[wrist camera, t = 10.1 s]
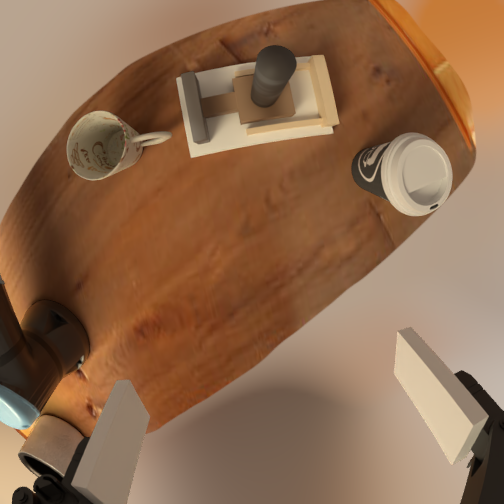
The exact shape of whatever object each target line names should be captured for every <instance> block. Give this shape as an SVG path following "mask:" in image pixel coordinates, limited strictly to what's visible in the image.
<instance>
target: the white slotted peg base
mask: <svg viewBox="0 0 504 504" xmlns="http://www.w3.org/2000/svg"><path fill="white" fill-rule="evenodd" d="M295 58H296V61H297V67H296V70H295V72H294V73H293V75H292V76H291V78H290V80H289V84H290V88H291V93H292V98H293V102H294V107H295V112H296V114H294V115H293V116H292V117H287V118H280V119H273V120H266V121H260V122H254V123H249V124H243V125H241V124H240V119H239V114H238V112H236V113H231V114H226V115H221V116H216V117H211V118H207V119H206V122H207V127H208V132H209V137H210V142H208V143H204V144H197V143H195V142H193V138H192V132H191V127H190V122H189V117H188V111H187V106H186V101H185V95H184V90H183V84H182V78H181V77H178V78H176V81H177V86H178V92H179V98H180V103H181V109H182V114H183V120H184V125H185V130H186V135H187V140H188V145H189V150H190V155H191V158H194V157H198V156H202V155H207V154H211V153H216V152H221V151H226V150H231V149H236V148H241V147H246V146H252V145H257V144H263V143H269V142H275V141H281V140H288V139H295V138H302V137H309V136H317V135H326V134H332V133H333V128H332V126H335V125H337V124H339V119H338V114H337V109H336V104H335V100H334V95H333V91H332V86H331V82H330V78H329V74H328V70H327V66H326V62H325V58H324V55H312V56H308V57H295ZM255 66H256V62H251V63H245V64H239V65H233V66H227V67H222V68H217V69H212V70H207V71H203V72H198V73H195V75H196V77H197V79H198V81H199V85H200V91H201V96H202V98H206V97H210V96H215V95H220V94H225V93H230V92H234V89H233V84H232V78H238V77H244V76H250V75H254V71H255Z"/></svg>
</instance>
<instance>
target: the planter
mask: <svg viewBox="0 0 504 504" xmlns="http://www.w3.org/2000/svg"><path fill="white" fill-rule="evenodd" d="M83 438H84V437H83V436H82V435H81V433H80V432H79V431H77V430H76V429H75V428H74V427H73V426H71V425H70V424H69V423H67V422H65V421H63V420H62V419H59V418H57V417H54V416H49V415H43V416H41V417H40V418H39V419H38V420H37V422H36V423H35V425H34V427H33V429H32V430H31V432H30V434H29V436H28V437H27V439H26V441H25V443H24V445H23V446H22V448H21V450H20V452H19V454H18V456H19V458H20V460H21V462H22V463H23V464H24V465H25V466H26V467H27V468H28V469H29V470H30V471H31V472H32V473H33V474H35V475H36V476H38V477H40V476H41V475H45V474H50V475H52V476H54V477H55V478H56V479H57V480H58V481H59V482H62V480H63V478H64V475H65V473H66V471H67V468H68V466H69V464H70V461H72V457H73V454H75V453H74V452H75V450H76V448H77V445H78V444H79V443H80V442H81V440H82V439H83Z"/></svg>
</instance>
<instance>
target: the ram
mask: <svg viewBox="0 0 504 504" xmlns="http://www.w3.org/2000/svg"><path fill="white" fill-rule="evenodd" d="M296 67H297V61H296V58H295V56H294V54H293V53H292V52H291V51H290V50H288V49H287V48H285V47H282V46H277V45H273V46H268V47H266V48H264V49H263V50H261V51H260V53H259V54H258V56H257V60H256V66H255V71H254V75H250V76H244V77H238V78H232V84H233V89H234V92H230V93H225V94H220V95H215V96H210V97H206V98H202V96H201V91H200V85H199V81H198V79H197V77H196V75H195V73H194V71H191V72H187V73H183V74H181V78H182V84H183V90H184V95H185V101H186V106H187V111H188V117H189V122H190V127H191V132H192V138H193V142H195V143H197V144H204V143H208V142H210V137H209V132H208V127H207V122H206V119H207V118H211V117H216V116H221V115H226V114H231V113H236V112H238V114H239V119H240V124H241V125H243V124H249V123H254V122H260V121H266V120H273V119H280V118H287V117H292V116H293V115H294V114H296V112H295V107H294V102H293V98H292V93H291V88H290V84H289V80H290V78H291V76H292V75H293V73H294V72H295V70H296Z"/></svg>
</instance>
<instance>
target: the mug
mask: <svg viewBox="0 0 504 504" xmlns="http://www.w3.org/2000/svg"><path fill="white" fill-rule="evenodd" d="M171 136H172V133H171V132H166V131H163V132H152V133H147V134H142V135H139V133H138V132H137V131H136V130H134V129H133V128H132V127H130V126H129V125H128V124H127V123H125V122H124V121H123V120H121V119H120V118H119V117H118V116H116V115H115V114H113V113H110V112H107V111H94V112H91V113H88V114H86V115H85V116H83V117H82V118H81V119H80V120H79V121H78V122H77V123H76V124H75V125H74V127H73V128H72V130H71V132H70V135H69V137H68V141H67V157H68V161H69V164H70V166H71V168H72V169H73V171H74V172H75V173H76V174H77V175H79V176H80V177H82V178H84V179H88V180H100V179H103V178H106V177H108V176H110V175H113V174H115V173H117V172H119V171H121V170H124V169H126V168H128V167H130V166H132V165H134V164H135V163H136V162H137V161H138V160H139V158H140V156H141V154H142V151H143V146H148V145H154V144H159V143H162V142H164V141H166V140H167V139H169V138H171ZM152 138H155V139H152ZM147 139H152V140H149V141H146V142H143V140H147Z"/></svg>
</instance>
